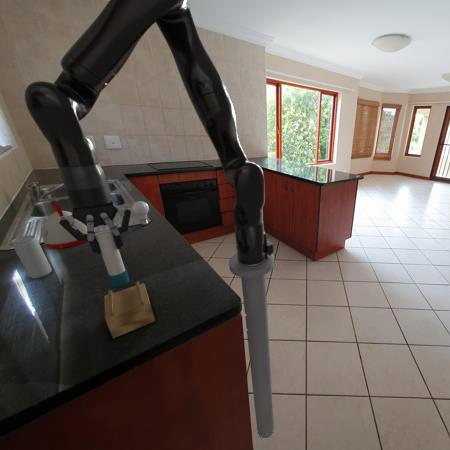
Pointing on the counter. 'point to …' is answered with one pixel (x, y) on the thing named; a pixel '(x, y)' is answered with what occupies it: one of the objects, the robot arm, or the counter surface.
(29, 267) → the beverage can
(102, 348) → the counter surface
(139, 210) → the lightbulb
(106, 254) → the marker
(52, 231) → the kitchen timer
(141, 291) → the cradle
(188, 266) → the counter surface
